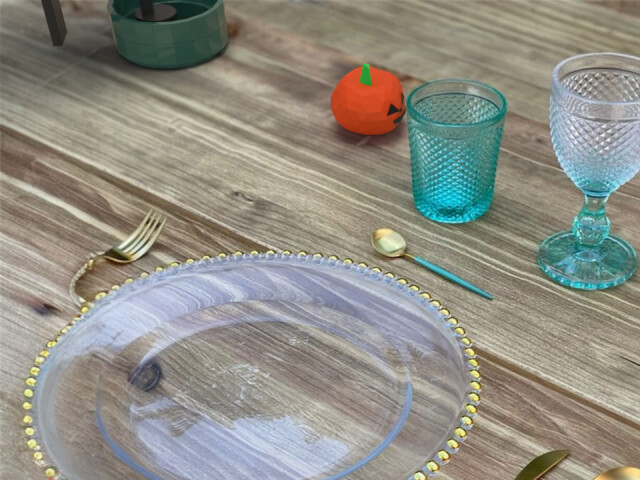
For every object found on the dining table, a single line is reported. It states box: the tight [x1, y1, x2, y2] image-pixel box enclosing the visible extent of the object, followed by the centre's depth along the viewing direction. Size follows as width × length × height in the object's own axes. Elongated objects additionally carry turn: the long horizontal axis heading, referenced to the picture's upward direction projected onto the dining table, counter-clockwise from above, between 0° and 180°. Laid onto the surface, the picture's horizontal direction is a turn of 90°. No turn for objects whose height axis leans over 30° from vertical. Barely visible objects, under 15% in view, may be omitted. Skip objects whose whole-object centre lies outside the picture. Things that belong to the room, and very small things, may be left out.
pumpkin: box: [330, 62, 407, 136], centre depth 88 cm, size 7×8×6 cm
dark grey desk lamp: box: [40, 0, 178, 48], centre depth 99 cm, size 13×4×7 cm, turn 96°
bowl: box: [106, 0, 230, 70], centre depth 101 cm, size 12×12×5 cm
